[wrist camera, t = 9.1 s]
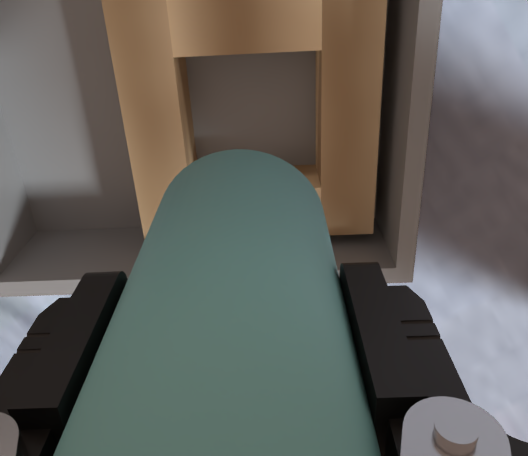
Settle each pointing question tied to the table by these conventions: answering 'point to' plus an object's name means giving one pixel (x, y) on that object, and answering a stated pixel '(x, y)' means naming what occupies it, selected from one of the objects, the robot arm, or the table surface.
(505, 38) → the table surface
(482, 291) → the table surface
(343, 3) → the bore block
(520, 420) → the table surface
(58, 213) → the open box
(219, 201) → the peg
